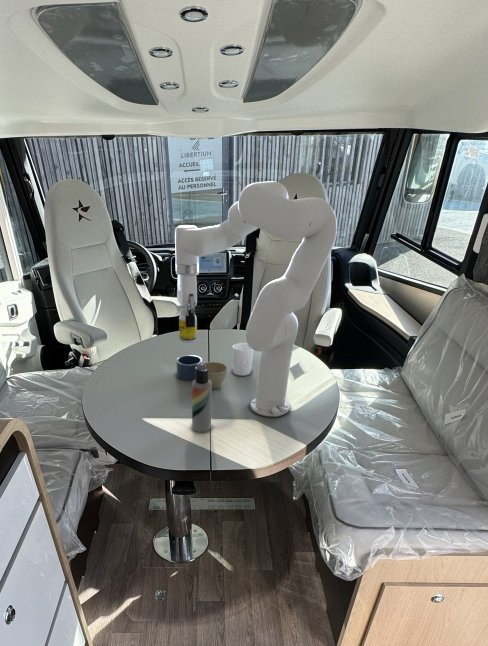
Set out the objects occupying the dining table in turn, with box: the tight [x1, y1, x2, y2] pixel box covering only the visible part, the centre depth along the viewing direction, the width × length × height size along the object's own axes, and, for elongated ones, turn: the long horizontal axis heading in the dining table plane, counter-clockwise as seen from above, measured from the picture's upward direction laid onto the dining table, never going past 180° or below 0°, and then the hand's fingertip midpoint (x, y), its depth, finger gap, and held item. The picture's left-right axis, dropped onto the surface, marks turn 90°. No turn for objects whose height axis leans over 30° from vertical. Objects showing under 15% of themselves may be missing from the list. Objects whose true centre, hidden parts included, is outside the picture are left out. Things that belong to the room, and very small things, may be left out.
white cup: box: [232, 342, 255, 377], centre depth 165 cm, size 8×8×10 cm
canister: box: [175, 354, 203, 381], centre depth 164 cm, size 9×9×6 cm
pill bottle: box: [178, 307, 198, 344], centre depth 154 cm, size 6×6×11 cm
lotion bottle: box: [191, 363, 213, 433], centre depth 129 cm, size 6×6×20 cm
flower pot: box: [202, 361, 228, 390], centre depth 156 cm, size 10×10×7 cm
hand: (188, 323), depth 154 cm, fingers closed on pill bottle, 6 cm apart
